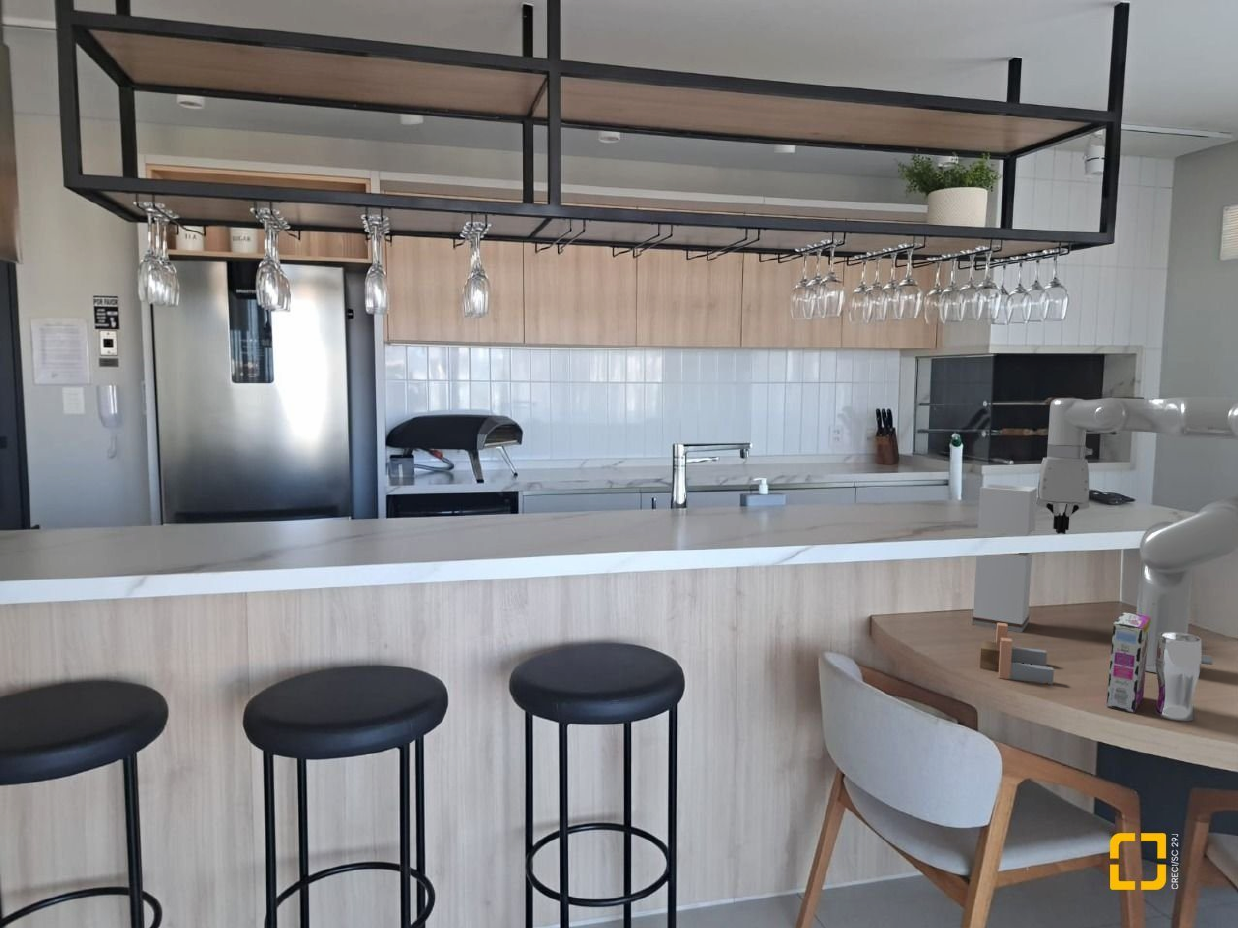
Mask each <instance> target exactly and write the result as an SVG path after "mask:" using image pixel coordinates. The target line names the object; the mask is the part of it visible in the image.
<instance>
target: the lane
mask: <svg viewBox="0 0 1238 928" xmlns="http://www.w3.org/2000/svg"><path fill="white" fill-rule="evenodd" d="M1008 631H1009V630H1008V625H1007V624H1006V623H997V628H996V636H995V637H996V639H995V643H1000V659H999V671H998V679H1003V678H1004V679H1005V680H1014V681H1015V680H1016V681H1023V682H1031V683H1039V684H1046V683H1048V684H1047V685H1054V677H1055V676H1054V673H1055V669H1054V667H1053V666H1047V661H1048V660H1047V659H1048V658H1047V657H1048V653H1047V650H1046V649H1037V648H1036V649H1035V648H1026V647H1020V646H1019V647H1018V646H1013V640H1012V638H1008ZM1011 653H1012V658H1011ZM1014 662H1016V663H1014ZM1022 663H1024V664H1022ZM1031 664H1032V665H1031Z"/></svg>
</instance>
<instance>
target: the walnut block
mask: <svg viewBox="0 0 1238 928" xmlns="http://www.w3.org/2000/svg"><path fill="white" fill-rule="evenodd" d="M979 658H980V659H979V661H980V662H979V668H980V669H984V670H991V671H996V672H997V671H998V672H999V659H1000V643H996V641H987V640H986V641H985V640H982V641H981V647H980V657H979ZM1011 658H1012V653H1011Z"/></svg>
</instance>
